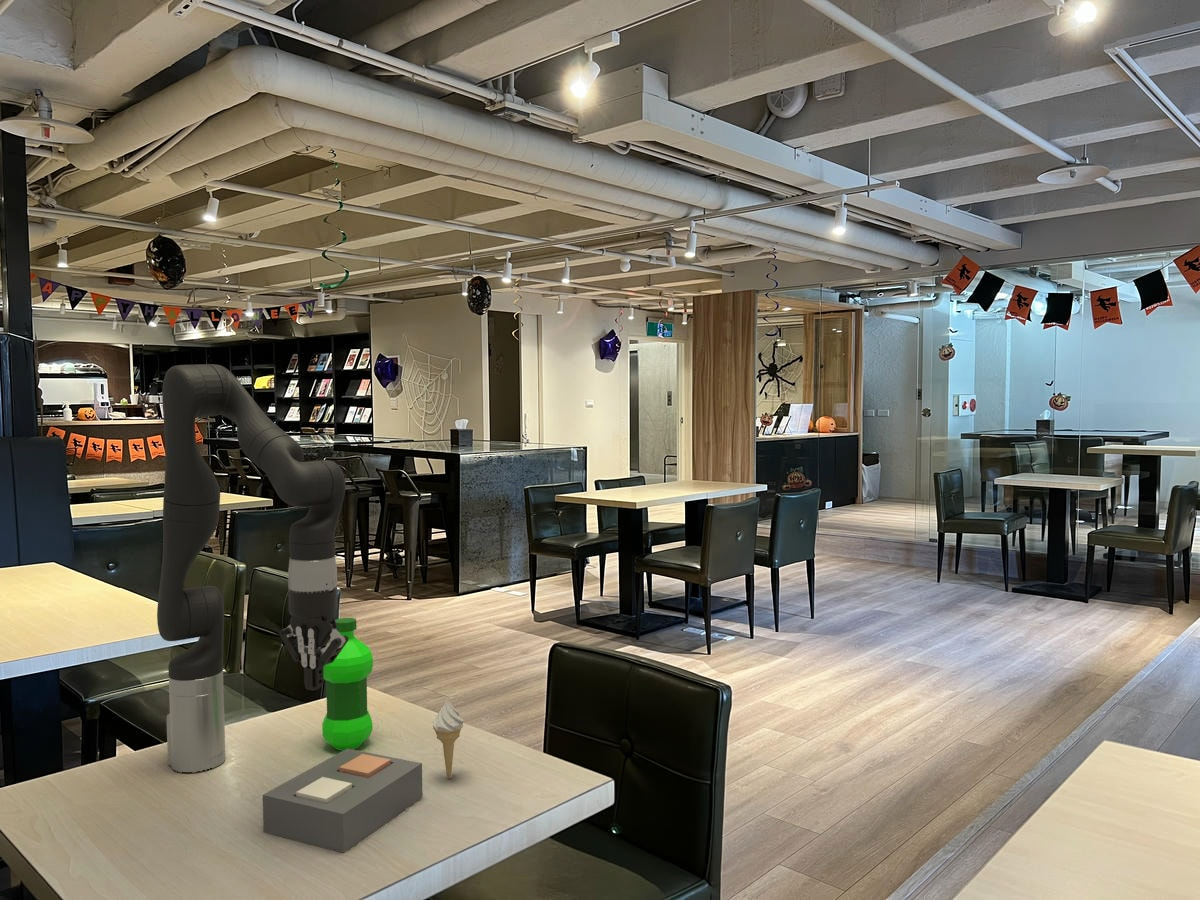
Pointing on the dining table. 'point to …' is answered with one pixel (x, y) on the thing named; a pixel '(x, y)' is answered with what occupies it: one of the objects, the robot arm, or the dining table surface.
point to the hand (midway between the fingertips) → (313, 688)
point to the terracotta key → (365, 765)
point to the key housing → (342, 803)
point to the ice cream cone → (448, 731)
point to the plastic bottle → (348, 692)
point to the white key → (324, 790)
